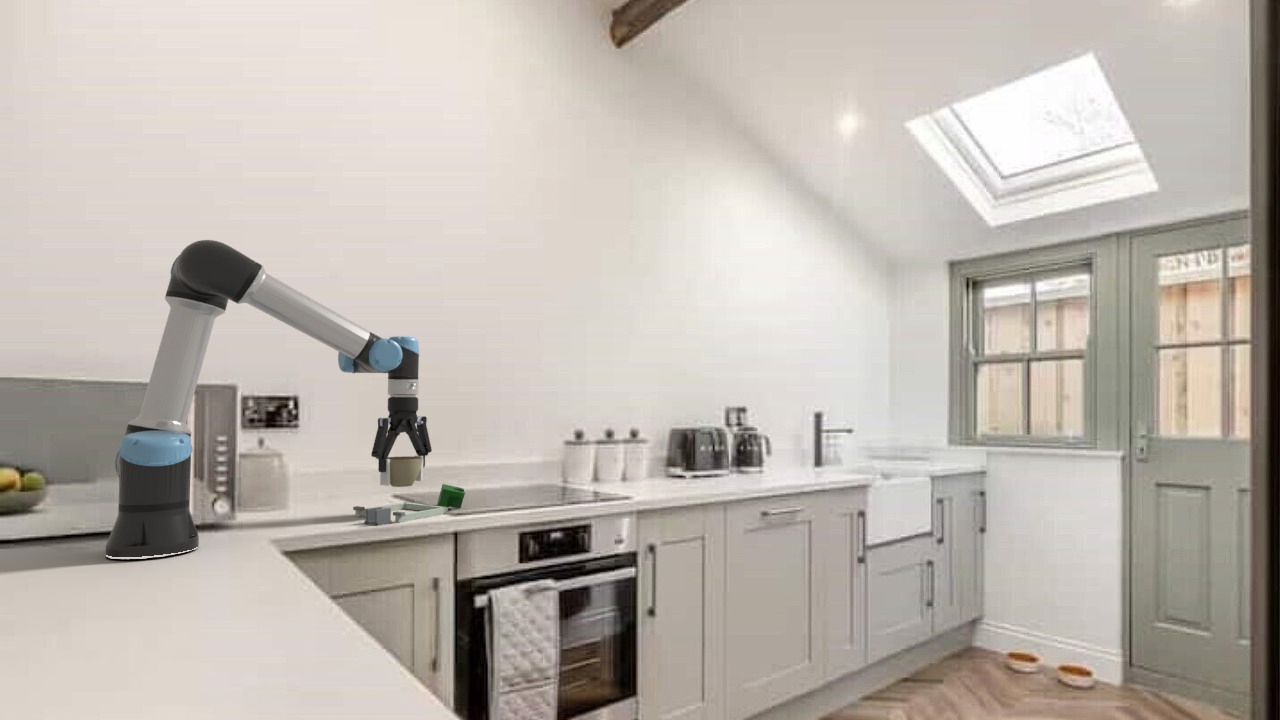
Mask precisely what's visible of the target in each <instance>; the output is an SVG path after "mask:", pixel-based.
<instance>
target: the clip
mask: <svg viewBox="0 0 1280 720" xmlns="http://www.w3.org/2000/svg"><path fill="white" fill-rule="evenodd" d="M375 507H376V508H373V507H368V508H369V509H367V508H365V509H366V515H365V520H363V521H364V522H363V523H364V525H371V524H372V526H377V525H379V526H384V525H389V524H392V523H393V520H392V519H391V517H392V515H391V513H392V511H391V508H385V509H382V507H379V506H375ZM388 523H389V524H388ZM383 524H384V525H383Z"/></svg>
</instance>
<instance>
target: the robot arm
mask: <svg viewBox="0 0 1280 720" xmlns="http://www.w3.org/2000/svg"><path fill="white" fill-rule="evenodd" d="M165 293H166V294H165V296H164V299H165V301H166V303H167V304H168V305H169V307H170V308H169V311H168V312H169V313H168V317H167V320H166V323H165V327H164V328H163V329H164V330H163V333H162V337H161V340H160V344H159V347H158V350H157V354H156V356H155V361H154V364H153V368H152V371H151V375H150V378H149V381H148V385H147V388H146V391H145V396H144V398H143V402H142V406H141V409H140V412H139V415H138V416H137V417H136V418H134V419H132V420H130V421H128V422H127V426H126V430H125V433H124V436H123V437H122V438H121V442H120V446H119V447H118V451H117V454H116V456H115V461H114V466H115V468H114V469H115V472H116V474H117V476H118V478H119V479H118V482H119V483H118V505H117V506H118V508H117V509H118V510H117V517H116V519H115V522H114V525H113V527H112V530H111V532H110V535H109V537H108V540H107V541H106V545H105V554H106V555H108V556H112V557H142V556H154V555H163V554H171V553H178V552H183V551H187V550H192V549H194V548H196V547H198V546H199V542H200V540H199V539H200V537H199V534H198V529H197V528H196V525H195V522H194V520H193V516H192V513H191V511H190V510H191V509H190V503H191V502H190V501H191V500H190V499H191V498H190V497H191V496H190V495H191V474H192V473H191V470H192V469H191V468H192V453H193V446H192V438H191V437H192V430H191V429H190V427H189V426H188V425H187V420H188V418H189V414H190V409H191V406H192V403H193V399H194V396H195V392H196V388H197V385H198V381H199V377H200V374H201V372H202V371H201V370H202V367H203V363H204V360H205V357H206V356H205V355H206V352H207V349H208V345H209V342H210V338H211V335H212V330H213V328H214V324H215V320H216V318H217V317H219V316H222V315H223V314H225V313H226V310H227V306H228V304H229V303H228V302H229V300H230V301H232V302H233V303H235V304H237V305H240V304H244V303H245V304H248V305H250V306H252V307H254V308H255V309H258V310H259V311H261V312H263V313H265V314H267V315H268V316H271V317H272V318H274V319H276V320H278V321H279V322H282V323H284V324H285V325H288V326H289V327H292V328H294V329H295V330H296V331H299V332H301V333H303V334H305V335H307V336H309V337H310V338H312V339H314V340H316V341H318V342H320V343H322V344H324V345H325V346H328V347H330V348H331V349H333V350H335V351H337V353H338V355H337V362H338V367H339V369H340V371H341V372H343V373H352V374H356V373H357V374H387V395H388V396H389V397H388V398H387V411H388V413H389V414H388V415H387V417H379V418H378V419H377V431H376V434H375V439H374V443H373V446H372V450H371V455H370V456H371V457H372V458H375V459H377V460H378V472H379V473H380V484H379V485H380V486H386V487H387V486H388V487H389V486H391V484H390V459H387V458H388V457H389V455H390V453H391V451H392V448H393V447H394V445H395V442H396V440H397V438H398V436H400V435H401V433H406V435H407V436H408V438H409V441H410V442H411V445H412V447H413V448H414V450H415V451H414V452H415V453H416V455H413V457H422V458H423V460H422V465H421V468H420V471H419V474H418V476H417V478H416V480H415V481H417V482H423V481H424V468H425V466H426V456H428V455H429V453H432V450H433V449H432V446H431V442H430V440H431V439H430V436H429V435H430V434H429V431H428V428H427V427H428V426H427V421H428V420H427V419H428V418H427V416H420V415H419V416H418V415H417V412H418V411H419V398H418V397H417V396H418V395H419V369H420V368H419V366H420V365H419V362H420V359H419V358H420V347H419V340H418V339H417V338H416V337H414V336H399V335H398V336H390V337H389V338H382V337H380V336H378V335H377V334H376V333H373V332H371V331H370V330H368V329H366V328H365V327H362V326H361V325H359V324H357V323H355V322H354V321H352V320H350V319H348V318H347V317H345V316H343V315H341V314H339V313H337V312H336V311H334V310H332V309H331V308H329V307H327V306H326V305H324V304H322V303H320V302H318V301H316V300H314V299H313V298H311V297H309V296H308V295H306V294H304V293H303V292H300V291H298V290H297V289H295V288H293V287H292V286H289V285H288V284H287V283H284V282H283V281H281V280H279V279H277V278H275V277H273V276H272V275H270V274H268V272H266V270H265V267H264V265H262V264H261V263H259V262H257V261H255V260H254V259H252V258H250V257H249V256H247V255H246V254H244V253H242V252H240V251H239V250H237V249H236V248H234V247H231V246H230V245H228V244H226V243H224V242H222V241H217V240H214V239H204V240H203V239H202V240H201V239H200V240H197V241H194V242H192V243H190V244H188V245H187V246H186V247H185V248H183V250H182V251H181V253H180V254H179V255H178V256H177V257H176V258H175V259H174V261H173V263H172V265H171V268H170V280H169V283H168V285H167V289H166V291H165ZM415 481H414V482H415ZM199 547H200V546H199ZM199 547H198V548H199ZM105 554H104V555H105Z"/></svg>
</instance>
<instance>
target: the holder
mask: <svg viewBox="0 0 1280 720" xmlns="http://www.w3.org/2000/svg"><path fill="white" fill-rule="evenodd" d="M376 507H377V506H373V507H372V508H376ZM378 507H382V509H385V508H391V512H392V516H394V517H395V519H394V521H395V523H402V521H403V522H408V520H409V521H414V520H419V519H423V518H424V517H425V518H429V516H430V517H435V516H440V515H439V514H441V515H445V514H444V513H446V514H448V513H449V507H448V506H447V507H441V506H437V505H431V504H421V503H414V502H407V501H406V502H405V501H404V502H399V503H393V504H387V505H380V506H378ZM369 508H370V507H368V508H366V507H364V506H359V505H357V506H353V507H352V510H353V511H354V512H355V513H354V515H355V517H364V516H365V517H366V509H369ZM410 509H411V510H413V511H414V512H410V513H406V512H403V511H399V510H410ZM411 510H410V511H411ZM418 510H420V511H418ZM434 515H435V516H434ZM425 518H424V519H425Z"/></svg>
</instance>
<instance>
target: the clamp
mask: <svg viewBox="0 0 1280 720" xmlns="http://www.w3.org/2000/svg"><path fill="white" fill-rule="evenodd" d="M465 494H466V491H465V488H462V487H459V486H453V485H449V484H444V483H442V485H441V489H440V492H439V496H438V499H437V504H436V506H441V507H448V508H449V507H450V508H454V509H458V508H462V504H463V501H464V498H465Z"/></svg>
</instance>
